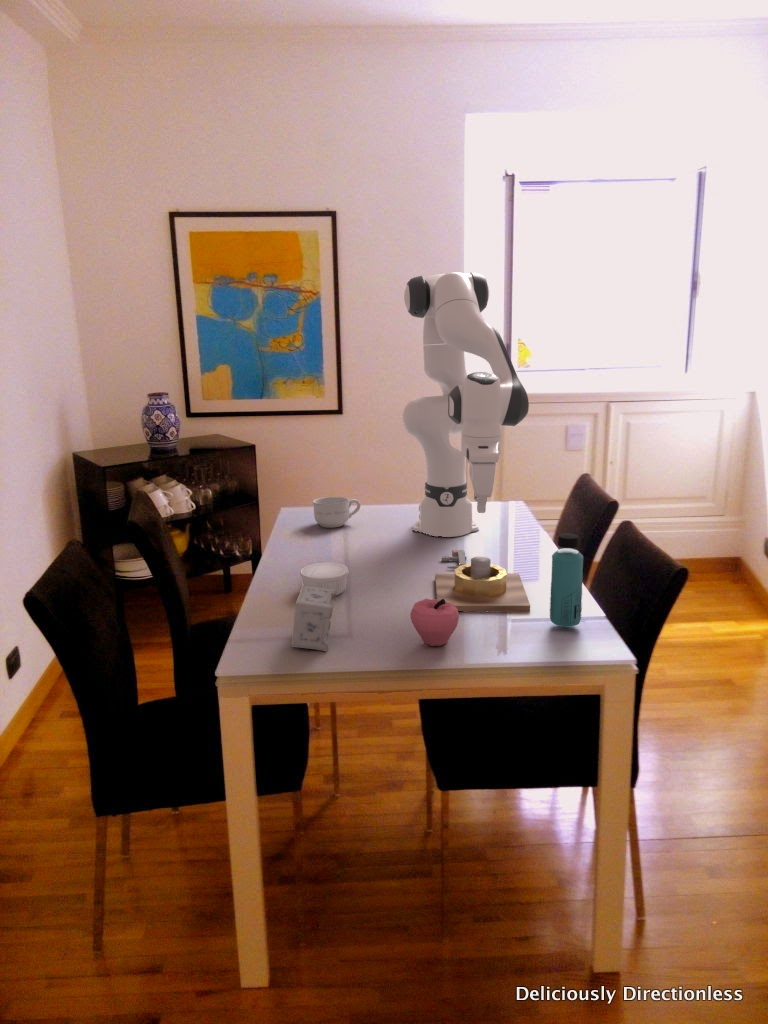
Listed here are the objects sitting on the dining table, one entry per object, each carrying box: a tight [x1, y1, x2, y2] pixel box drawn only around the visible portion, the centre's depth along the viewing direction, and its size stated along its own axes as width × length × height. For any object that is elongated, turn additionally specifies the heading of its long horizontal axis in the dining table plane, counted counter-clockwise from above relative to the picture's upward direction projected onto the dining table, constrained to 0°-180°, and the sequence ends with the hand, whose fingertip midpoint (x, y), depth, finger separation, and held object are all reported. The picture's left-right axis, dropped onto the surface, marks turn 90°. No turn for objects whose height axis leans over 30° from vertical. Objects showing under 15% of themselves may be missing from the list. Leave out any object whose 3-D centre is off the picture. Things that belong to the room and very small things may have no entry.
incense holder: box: [290, 585, 337, 652], centre depth 161 cm, size 10×8×10 cm
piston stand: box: [434, 556, 531, 613], centre depth 184 cm, size 20×20×8 cm
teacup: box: [312, 496, 361, 529], centre depth 239 cm, size 14×11×8 cm
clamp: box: [441, 549, 467, 570], centre depth 204 cm, size 15×2×10 cm
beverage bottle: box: [549, 532, 584, 627], centre depth 164 cm, size 6×7×20 cm
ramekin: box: [299, 561, 350, 597], centre depth 189 cm, size 11×11×5 cm
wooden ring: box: [454, 563, 508, 598], centre depth 185 cm, size 12×12×4 cm
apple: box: [410, 598, 460, 647], centre depth 159 cm, size 10×9×10 cm
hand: (479, 506), depth 185 cm, fingers open, 8 cm apart
